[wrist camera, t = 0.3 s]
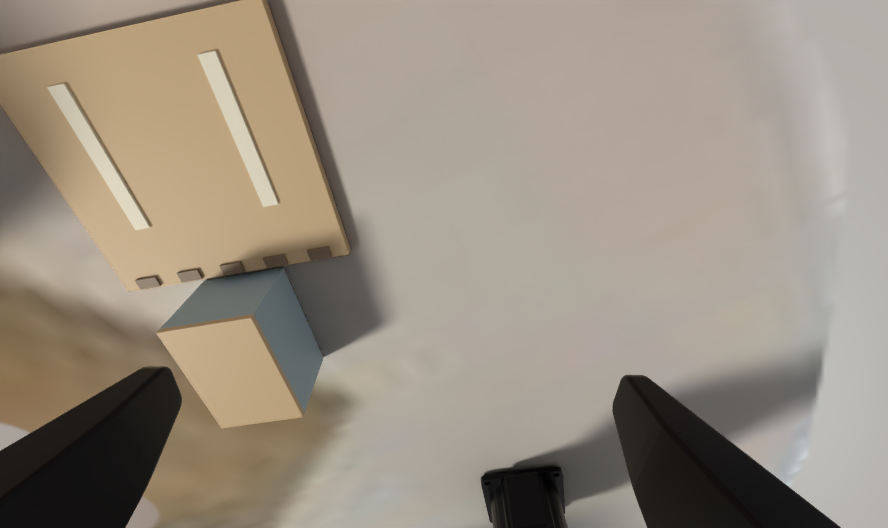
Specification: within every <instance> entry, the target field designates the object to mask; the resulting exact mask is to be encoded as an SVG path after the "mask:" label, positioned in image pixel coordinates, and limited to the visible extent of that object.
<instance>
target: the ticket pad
mask: <svg viewBox="0 0 888 528" xmlns="http://www.w3.org/2000/svg"><path fill="white" fill-rule="evenodd" d="M0 105H1V107H2V108H3V110H4V111H5V112H6V114H7V115H8V117H9V118H10V120H11V121H12V123H13V124H14V126H15V127H16V129H17V130H18V131H19V133H20V134H21V136H22V137H23V139H24V140H25V142H26V143H27V145H28V146H29V147H30V149H31V150H32V152H33V153H34V155H35V156H36V158H37V159H38V161H39V162H40V163H41V165H42V166H43V168H44V169H45V171H46V172H47V174H48V175H49V177H50V178H51V180H52V181H53V182H54V184H55V185H56V187H57V188H58V190H59V191H60V193H61V194H62V196H63V197H64V198H65V200H66V201H67V203H68V204H69V206H70V207H71V209H72V210H73V212H74V213H75V215H76V216H77V217H78V219H79V220H80V222H81V223H82V225H83V226H84V228H85V229H86V231H87V232H88V233H89V235H90V236H91V238H92V239H93V241H94V242H95V244H96V245H97V247H98V248H99V249H100V251H101V252H102V254H103V255H104V257H105V258H106V260H107V261H108V263H109V264H110V266H111V267H112V268H113V270H114V271H115V273H116V274H117V276H118V277H119V279H120V280H121V282H122V283H123V284H124V286H125V287H126V289H127V290H128V292H131V291H137V290H143V289H149V288H155V287H161V286H166V285H172V284H178V283H184V282H190V281H196V280H202V279H208V278H214V277H219V276H225V275H231V274H237V273H243V272H249V271H255V270H261V269H266V268H272V267H278V266H284V265H290V264H296V263H302V262H308V261H314V260H319V259H325V258H331V257H337V256H343V255H349V253H350V250H351V248H350V245H349V242H348V239H347V236H346V233H345V231H344V228H343V225H342V222H341V219H340V216H339V213H338V210H337V207H336V204H335V201H334V198H333V195H332V192H331V189H330V186H329V183H328V180H327V177H326V174H325V171H324V168H323V165H322V162H321V159H320V156H319V153H318V150H317V147H316V144H315V141H314V138H313V136H312V133H311V130H310V127H309V124H308V121H307V118H306V115H305V112H304V109H303V106H302V103H301V100H300V97H299V94H298V91H297V88H296V85H295V82H294V79H293V76H292V73H291V70H290V67H289V64H288V61H287V58H286V55H285V52H284V49H283V46H282V43H281V41H280V38H279V35H278V32H277V29H276V26H275V23H274V20H273V17H272V14H271V11H270V8H269V5H268V2H267V0H240V1H235V2H231V3H227V4H222V5H218V6H213V7H209V8H204V9H200V10H196V11H191V12H187V13H182V14H178V15H173V16H169V17H165V18H160V19H156V20H151V21H147V22H142V23H138V24H134V25H129V26H125V27H120V28H116V29H111V30H107V31H103V32H98V33H94V34H89V35H85V36H80V37H76V38H72V39H67V40H63V41H58V42H54V43H49V44H45V45H41V46H36V47H32V48H27V49H23V50H19V51H14V52H10V53H5V54H1V55H0Z"/></svg>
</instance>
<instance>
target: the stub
mask: <svg viewBox="0 0 888 528" xmlns="http://www.w3.org/2000/svg"><path fill="white" fill-rule="evenodd" d="M157 335H158V336H159V338H160V339H161V341H162V342H163V344H164V345H165V347H166V348H167V349H168V351H169V352H170V354H171V355H172V357H173V358H174V360H175V361H176V363H177V364H178V365H179V367H180V368H181V370H182V371H183V373H184V374H185V376H186V377H187V379H188V380H189V381H190V383H191V384H192V386H193V387H194V389H195V390H196V392H197V393H198V395H199V396H200V398H201V399H202V400H203V402H204V403H205V405H206V406H207V408H208V409H209V411H210V412H211V414H212V415H213V416H214V418H215V419H216V421H217V422H218V424H219V425H220V427H221V428H227V427H234V426H241V425H249V424H256V423H263V422H270V421H277V420H285V419H292V418H299V417H303V415H304V412H305V410H306V407H307V404H308V401H309V398H310V395H311V392H312V389H313V386H314V384H315V381H316V378H317V375H318V372H319V369H320V366H321V363H322V361H323V356H322V353H321V351H320V349H319V347H318V344H317V342H316V340H315V338H314V335H313V333H312V331H311V329H310V326H309V324H308V322H307V319H306V317H305V315H304V313H303V310H302V308H301V306H300V304H299V301H298V299H297V297H296V295H295V292H294V290H293V288H292V286H291V283H290V281H289V279H288V276H287V274H286V272H285V270H284V267H282V268H276V269H270V270H265V271H259V272H253V273H247V274H241V275H235V276H229V277H223V278H217V279H211V280H206V281H204V282H203V283H202V284H201V285H200V286H199V287H198V288H197V289H196V290H195V292H194V293H193V294H192V295H191V296H190V297H189V298H188V299H187V300H186V301H185V302H184V304H183V305H182V306H181V307H180V308H179V309H178V310H177V311H176V312H175V313H174V314H173V315H172V317H171V318H170V319H169V320H168V321H167V322H166V323H165V324H164V325H163V326H162V327H161V329H160V330H159V331H158V332H157Z"/></svg>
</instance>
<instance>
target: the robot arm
mask: <svg viewBox="0 0 888 528" xmlns="http://www.w3.org/2000/svg"><path fill="white" fill-rule="evenodd" d="M181 403H182V397H181V393H180V390H179V388H178V385H177V383H176V381H175V378H174V376H173V373H172V371H171V370H170V369H169V368H168V367H164V366H147V367H143V368H141V369H139V370H138V371H136V372H134V373H132V374H131V375H129V376H127V377H126V378H124V379H122V380H121V381H119V382H117V383H115V384H114V385H112V386H110V387H109V388H107V389H105V390H103V391H102V392H100V393H98V394H97V395H95V396H93V397H91V398H90V399H88V400H86V401H85V402H83V403H81V404H80V405H78V406H76V407H74V408H73V409H71V410H69V411H68V412H66V413H64V414H62V415H61V416H59V417H57V418H56V419H54V420H52V421H51V422H49V423H47V424H45V425H44V426H42V427H40V428H39V429H37V430H35V431H33V432H32V433H30V434H28V435H27V436H25V437H23V438H21V439H20V440H18V441H17V442H15V443H13V444H11V445H10V446H8V447H6V448H4V449H3V450H1V451H0V528H125V527H126V525H127V524H128V522H129V520H130V518H131V516H132V514H133V512H134V510H135V508H136V507H137V505H138V503H139V501H140V499H141V497H142V495H143V493H144V491H145V489H146V487H147V486H148V483H149V481H150V479H151V477H152V475H153V472H154V470H155V468H156V465H157V463H158V461H159V458H160V456H161V453H162V451H163V449H164V446H165V444H166V441H167V439H168V437H169V434H170V432H171V429H172V427H173V425H174V422H175V420H176V417H177V415H178V413H179V410H180V407H181ZM613 415H614V419H615V423H616V427H617V431H618V434H619V438H620V442H621V446H622V450H623V453H624V457H625V461H626V465H627V469H628V472H629V476H630V480H631V483H632V487H633V490H634V493H635V496H636V498H637V501H638V504H639V507H640V509H641V512H642V515H643V517H644V520H645V523H646V525H647V528H841V527H840V526H838V525H837V524H836V523H834V522H833V521H832V520H831V519H829V518H828V517H827V516H825V515H824V514H823V513H822V512H820V511H819V510H818V509H816V508H815V507H814V506H813V505H811V504H810V503H809V502H807V501H806V500H805V499H804V498H802V497H801V496H800V495H798V494H797V493H796V492H795V491H793V490H792V489H791V488H789V487H788V486H787V485H786V484H784V483H783V482H782V481H780V480H779V479H778V478H777V477H775V476H774V475H773V474H771V473H770V472H769V471H768V470H766V469H765V468H764V467H762V466H761V465H760V464H759V463H757V462H756V461H755V460H753V459H752V458H751V457H750V456H748V455H747V454H746V453H744V452H743V451H742V450H741V449H739V448H738V447H737V446H735V445H734V444H733V443H732V442H730V441H729V440H728V439H726V438H725V437H724V436H723V435H721V434H720V433H719V432H717V431H716V430H715V429H714V428H712V427H711V426H710V425H708V424H707V423H706V422H705V421H703V420H702V419H701V418H699V417H698V416H697V415H696V414H694V413H693V412H692V411H690V410H689V409H688V408H687V407H685V406H684V405H683V404H681V403H680V402H679V401H678V400H676V399H675V398H674V397H672V396H671V395H670V394H669V393H667V392H666V391H665V390H663V389H662V388H661V387H660V386H658V385H657V384H656V383H654V382H653V381H652V380H651V379H649V378H648V377H646V376H643V375H625V376H623V377H622V379H621V381H620V384H619V387H618V390H617V393H616V395H615V398H614V401H613ZM481 485H482V489H483V494H484V498H485V502H486V507H487V511H488V515H489V520H490V522H491V523H493V528H568V527H567V523H566V520H565V516H564V514H565V504H564V488H563V474H562V470H561V468H560V467H548V468H539V469H531V470H523V471H515V472H507V473H499V474H490V475H484V476H482V477H481Z"/></svg>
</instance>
